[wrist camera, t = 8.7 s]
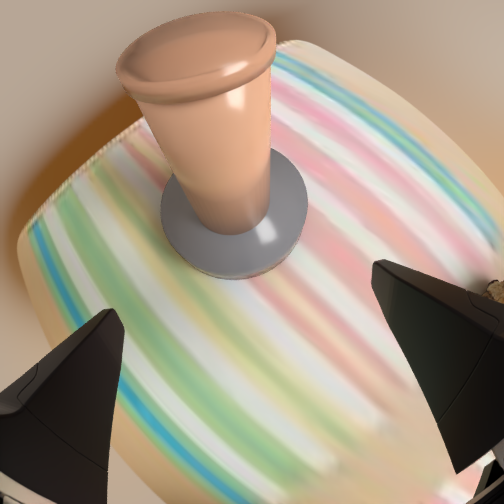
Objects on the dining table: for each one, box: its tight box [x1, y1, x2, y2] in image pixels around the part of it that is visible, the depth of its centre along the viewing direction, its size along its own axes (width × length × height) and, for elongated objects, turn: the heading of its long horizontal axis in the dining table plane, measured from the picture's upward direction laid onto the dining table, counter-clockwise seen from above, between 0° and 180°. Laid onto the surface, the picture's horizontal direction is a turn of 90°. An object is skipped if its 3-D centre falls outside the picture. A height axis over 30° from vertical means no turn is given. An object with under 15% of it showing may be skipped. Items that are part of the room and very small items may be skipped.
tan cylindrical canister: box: [116, 11, 276, 235], centre depth 14 cm, size 6×6×13 cm
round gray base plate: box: [161, 148, 308, 280], centre depth 21 cm, size 11×11×2 cm
